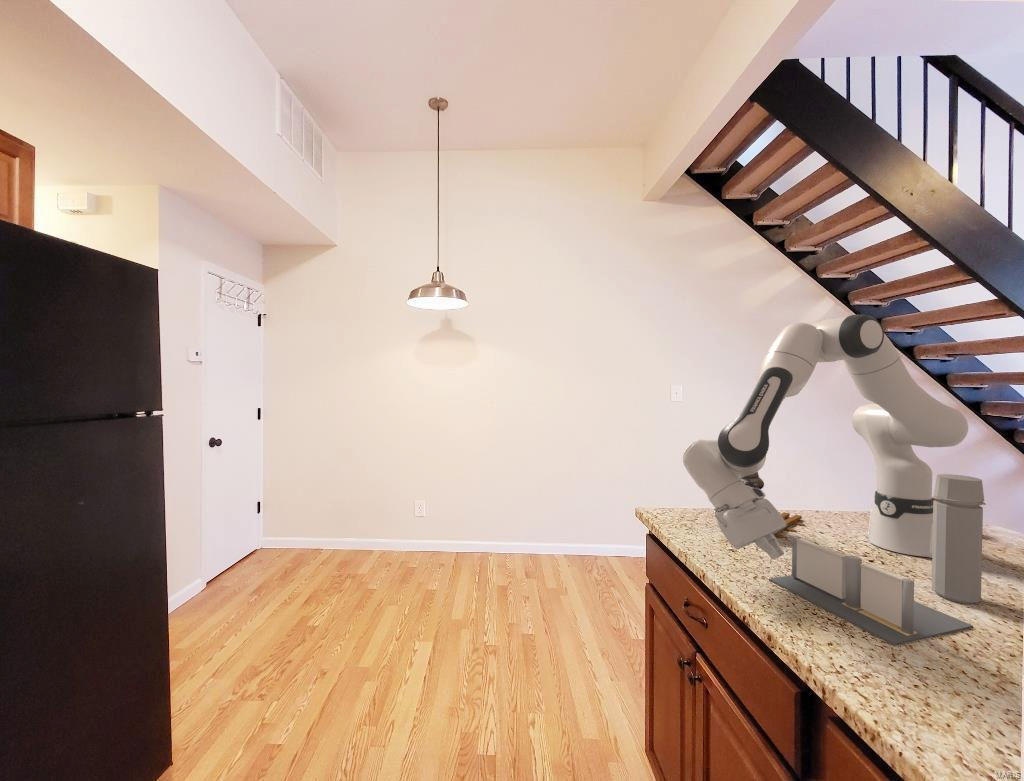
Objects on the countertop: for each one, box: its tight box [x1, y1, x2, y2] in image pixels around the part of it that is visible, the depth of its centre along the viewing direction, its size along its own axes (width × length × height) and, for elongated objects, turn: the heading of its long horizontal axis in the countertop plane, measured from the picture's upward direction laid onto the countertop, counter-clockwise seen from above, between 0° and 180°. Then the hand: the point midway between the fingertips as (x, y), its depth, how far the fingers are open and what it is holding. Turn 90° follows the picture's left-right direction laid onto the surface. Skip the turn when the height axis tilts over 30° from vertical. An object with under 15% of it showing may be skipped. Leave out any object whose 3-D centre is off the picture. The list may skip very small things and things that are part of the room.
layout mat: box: [768, 574, 974, 647], centre depth 87 cm, size 20×25×1 cm
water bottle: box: [931, 473, 987, 605], centre depth 90 cm, size 9×8×25 cm
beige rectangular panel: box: [791, 536, 848, 599], centre depth 92 cm, size 2×11×9 cm, turn 16°
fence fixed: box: [845, 554, 915, 634], centre depth 80 cm, size 2×11×10 cm, turn 16°
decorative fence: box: [773, 512, 806, 540], centre depth 133 cm, size 25×2×10 cm
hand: (779, 556), depth 93 cm, fingers closed
